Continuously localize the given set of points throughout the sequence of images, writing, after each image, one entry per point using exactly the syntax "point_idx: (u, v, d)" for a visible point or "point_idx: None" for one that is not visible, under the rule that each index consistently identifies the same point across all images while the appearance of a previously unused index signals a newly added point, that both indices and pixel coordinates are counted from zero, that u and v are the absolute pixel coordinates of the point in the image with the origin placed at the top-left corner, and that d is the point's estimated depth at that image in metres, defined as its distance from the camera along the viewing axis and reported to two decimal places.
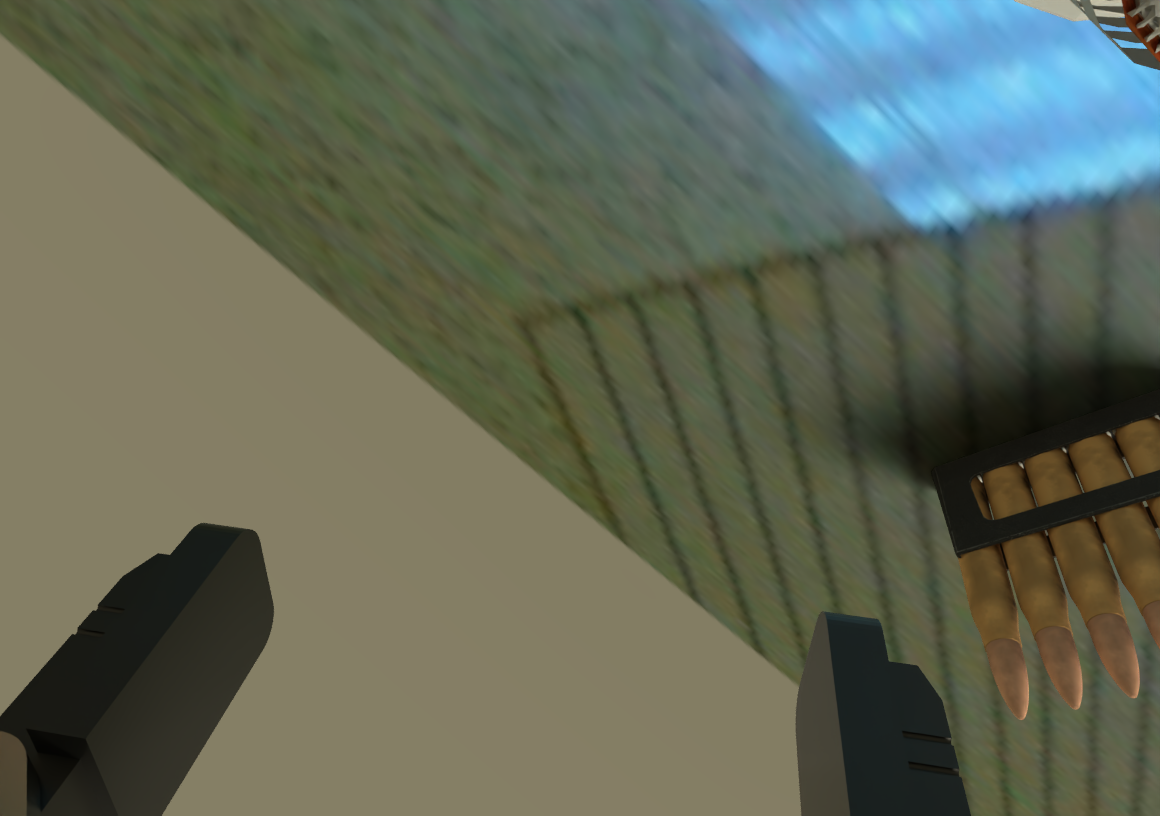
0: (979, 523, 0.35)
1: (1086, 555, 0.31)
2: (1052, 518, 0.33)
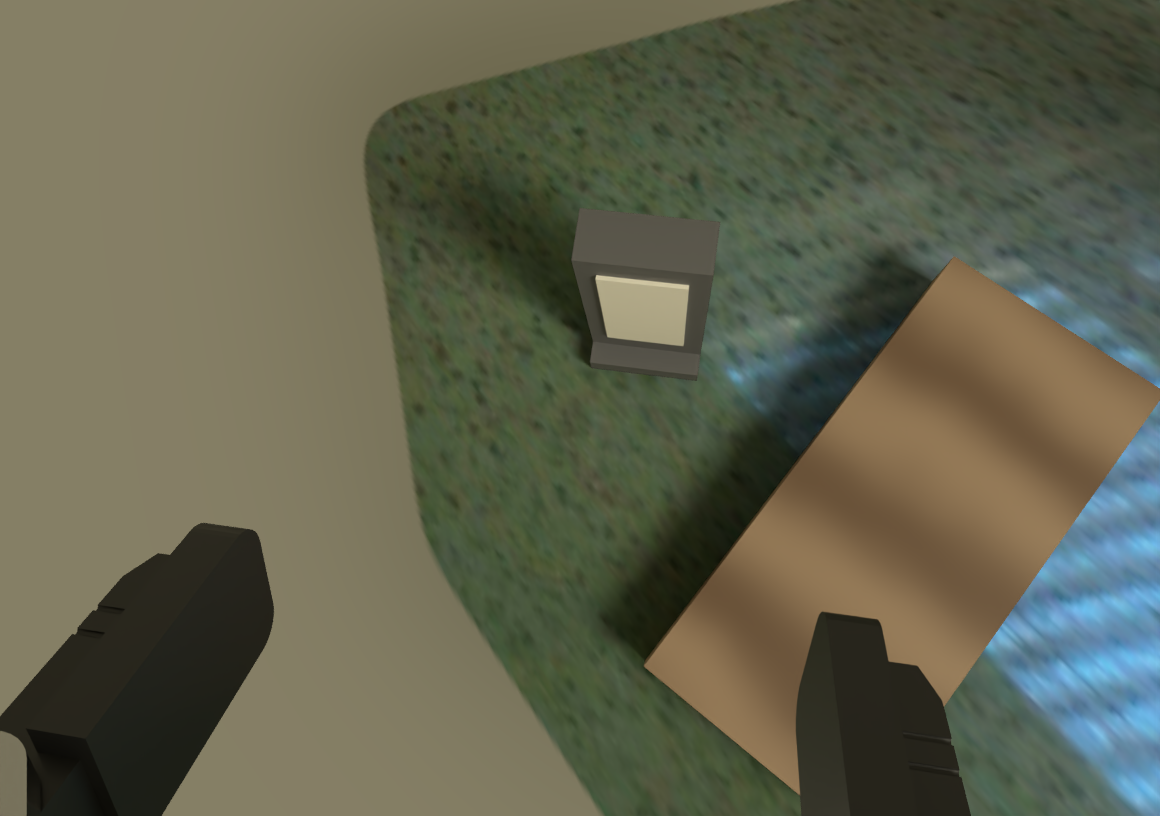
0: None
1: None
2: None
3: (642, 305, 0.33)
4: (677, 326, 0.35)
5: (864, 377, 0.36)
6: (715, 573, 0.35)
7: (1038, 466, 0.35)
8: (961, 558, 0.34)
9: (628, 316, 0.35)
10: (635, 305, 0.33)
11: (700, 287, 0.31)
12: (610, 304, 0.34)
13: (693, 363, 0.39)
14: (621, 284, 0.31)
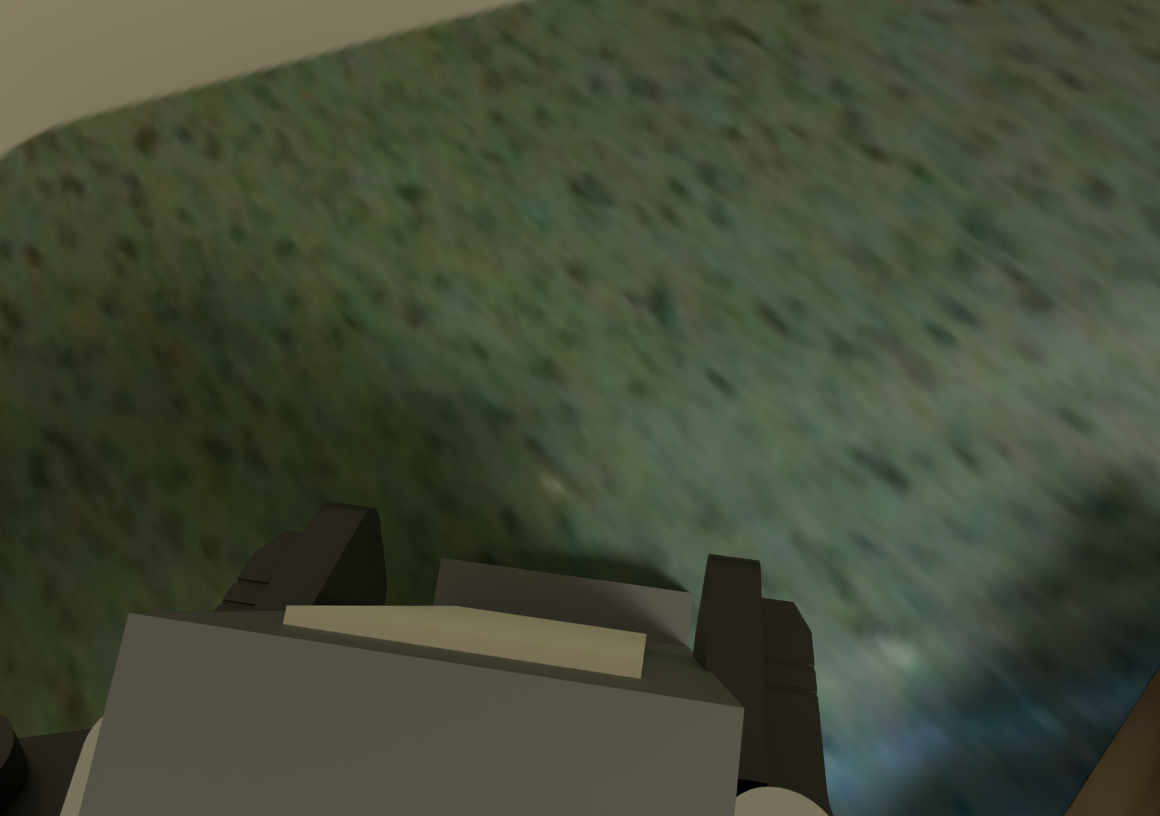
0: None
1: None
2: None
3: None
4: None
5: None
6: None
7: None
8: None
9: None
10: None
11: None
12: None
13: None
14: None
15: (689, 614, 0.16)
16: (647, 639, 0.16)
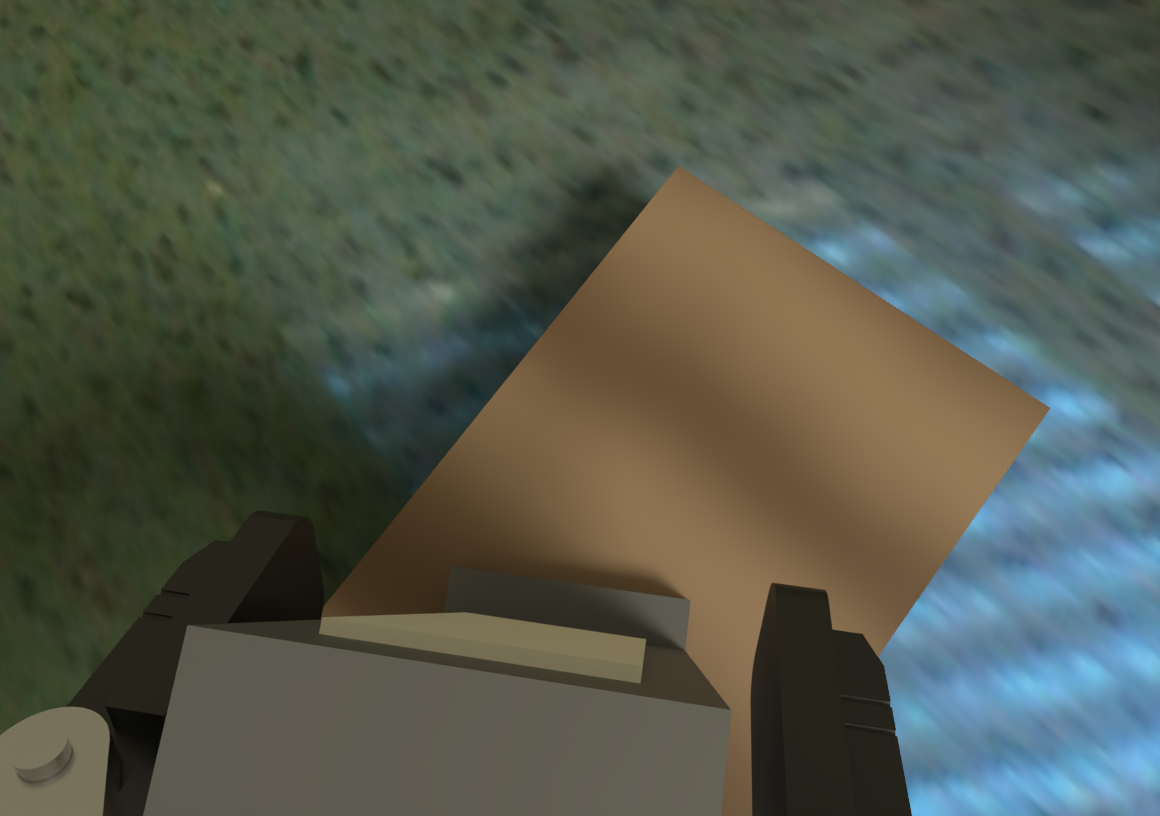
0: None
1: None
2: None
3: None
4: None
5: (505, 385, 0.20)
6: None
7: (812, 551, 0.18)
8: None
9: None
10: None
11: None
12: None
13: None
14: None
15: (687, 620, 0.17)
16: (647, 644, 0.17)
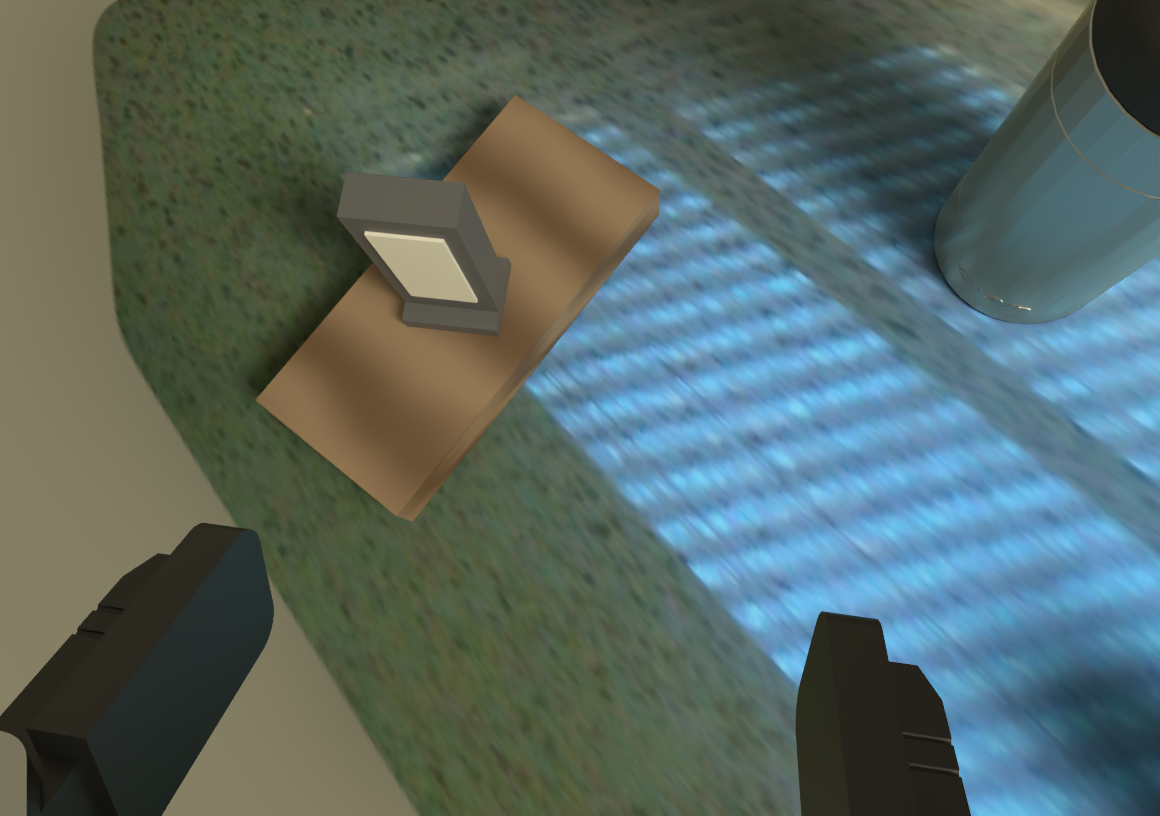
0: None
1: None
2: None
3: (417, 260, 0.38)
4: (458, 281, 0.40)
5: None
6: (315, 331, 0.45)
7: (561, 245, 0.45)
8: None
9: (414, 272, 0.39)
10: (412, 260, 0.38)
11: (454, 241, 0.35)
12: (392, 260, 0.38)
13: (493, 320, 0.44)
14: (387, 239, 0.36)
15: (506, 265, 0.44)
16: None
